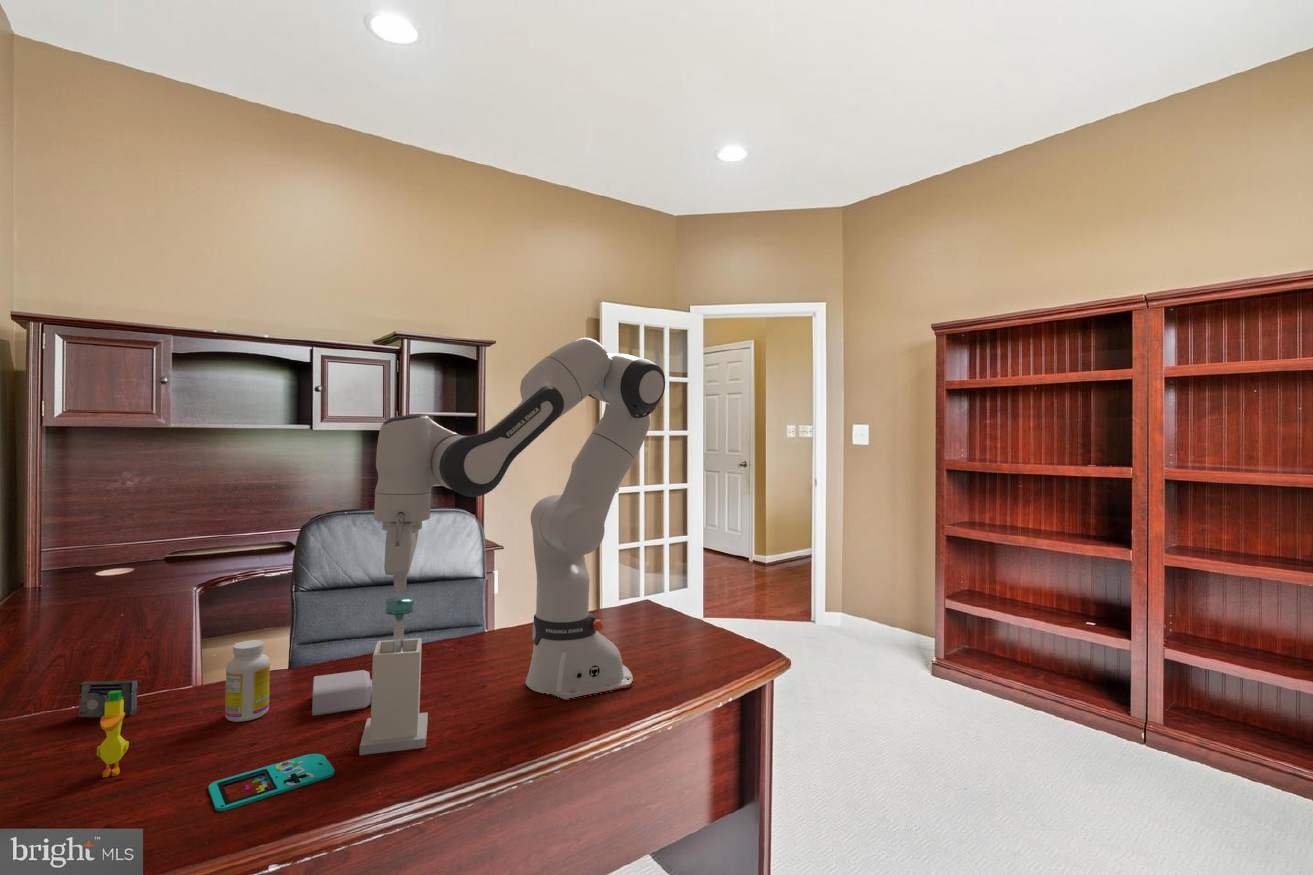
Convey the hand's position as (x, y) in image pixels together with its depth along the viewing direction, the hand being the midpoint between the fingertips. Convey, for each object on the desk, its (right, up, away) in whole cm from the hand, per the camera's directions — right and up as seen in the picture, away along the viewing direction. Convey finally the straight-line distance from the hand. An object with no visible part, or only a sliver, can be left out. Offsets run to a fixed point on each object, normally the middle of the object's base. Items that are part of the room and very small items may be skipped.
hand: (400, 590), depth 107 cm
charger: (-14, -25, +14) cm, 32 cm away
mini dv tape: (-54, -24, +4) cm, 59 cm away
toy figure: (-37, -24, -14) cm, 47 cm away
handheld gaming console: (-13, -25, -14) cm, 32 cm away
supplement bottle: (-30, -24, +6) cm, 39 cm away
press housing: (-1, -25, 0) cm, 25 cm away
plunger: (0, -14, 0) cm, 14 cm away
